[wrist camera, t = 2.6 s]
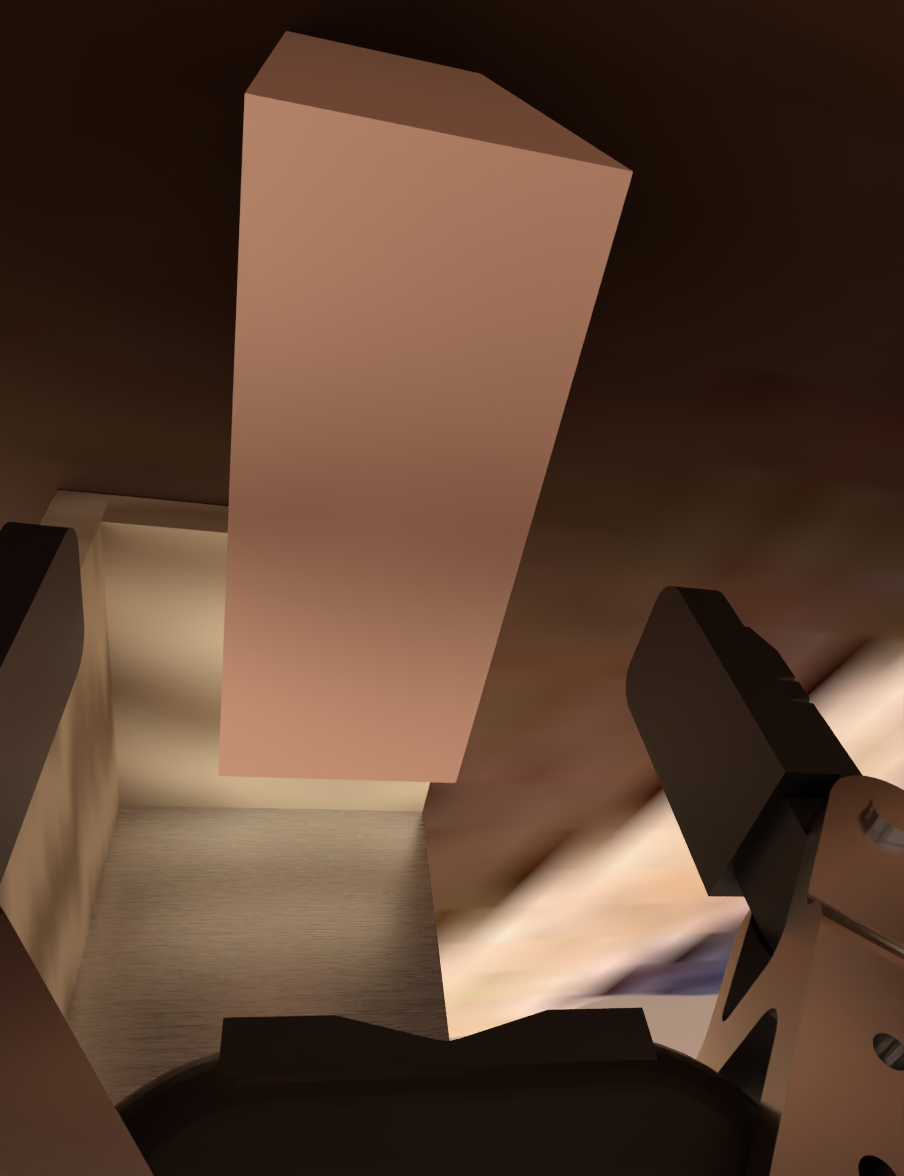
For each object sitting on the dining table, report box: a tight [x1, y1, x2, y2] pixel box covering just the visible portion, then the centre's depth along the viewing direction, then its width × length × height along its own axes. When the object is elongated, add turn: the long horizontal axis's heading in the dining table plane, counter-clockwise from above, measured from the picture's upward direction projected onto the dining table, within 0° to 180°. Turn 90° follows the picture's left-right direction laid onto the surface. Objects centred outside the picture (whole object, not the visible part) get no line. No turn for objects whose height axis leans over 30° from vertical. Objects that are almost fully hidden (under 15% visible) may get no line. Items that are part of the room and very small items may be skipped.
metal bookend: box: [66, 805, 449, 1106], centre depth 28 cm, size 2×12×11 cm, turn 79°
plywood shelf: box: [0, 490, 430, 1020], centre depth 24 cm, size 14×13×14 cm
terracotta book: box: [218, 31, 633, 783], centre depth 17 cm, size 11×4×12 cm, turn 169°
